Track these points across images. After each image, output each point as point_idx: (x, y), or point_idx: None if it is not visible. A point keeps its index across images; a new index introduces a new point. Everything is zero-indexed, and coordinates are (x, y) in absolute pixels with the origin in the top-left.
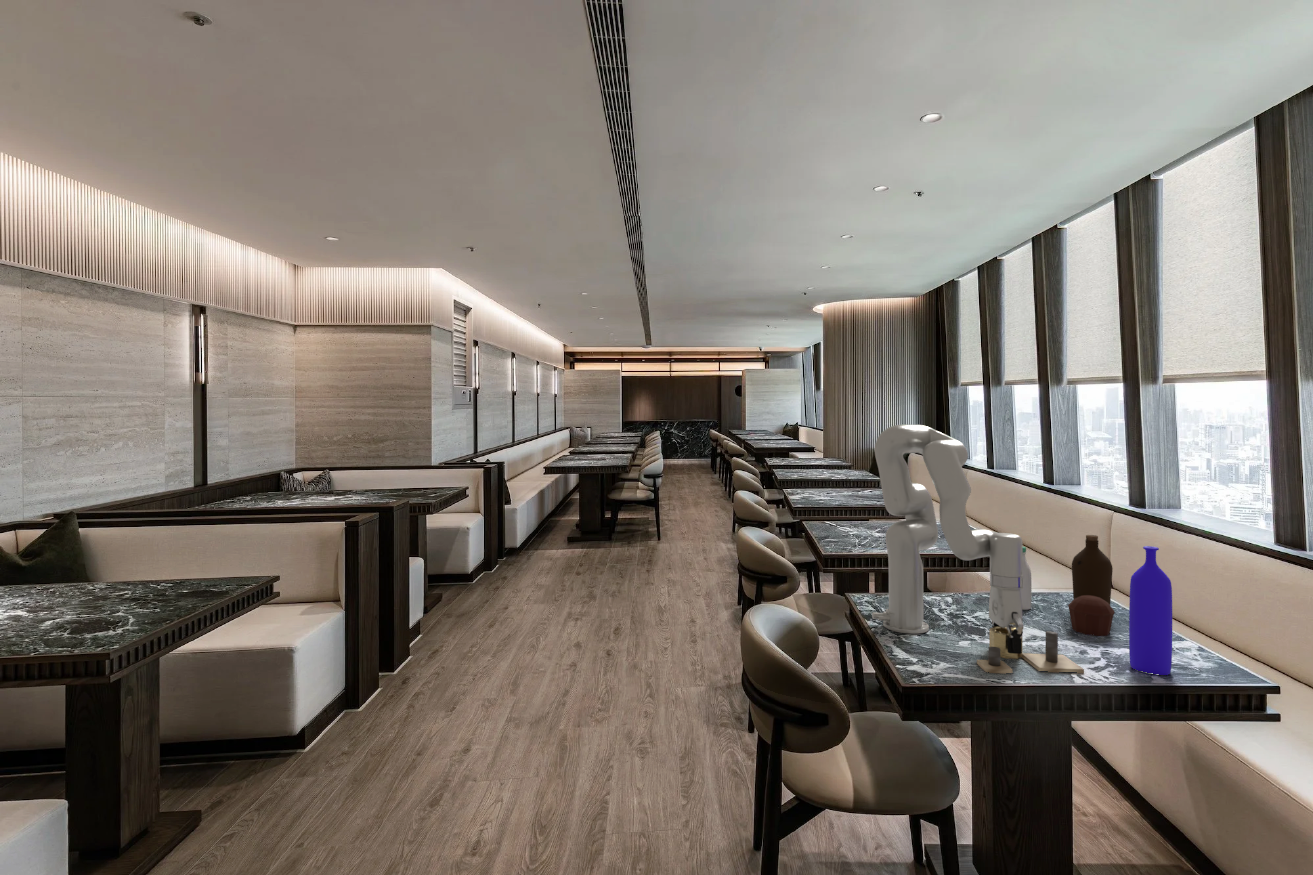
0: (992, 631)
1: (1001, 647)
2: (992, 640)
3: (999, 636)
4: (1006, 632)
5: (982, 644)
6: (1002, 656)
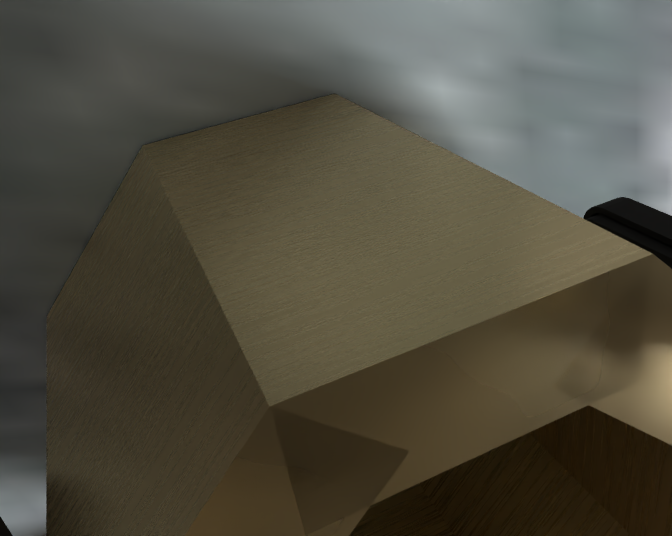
0: (398, 347)
1: (92, 354)
2: (280, 217)
3: (138, 499)
4: (596, 515)
5: (627, 31)
6: (71, 283)
